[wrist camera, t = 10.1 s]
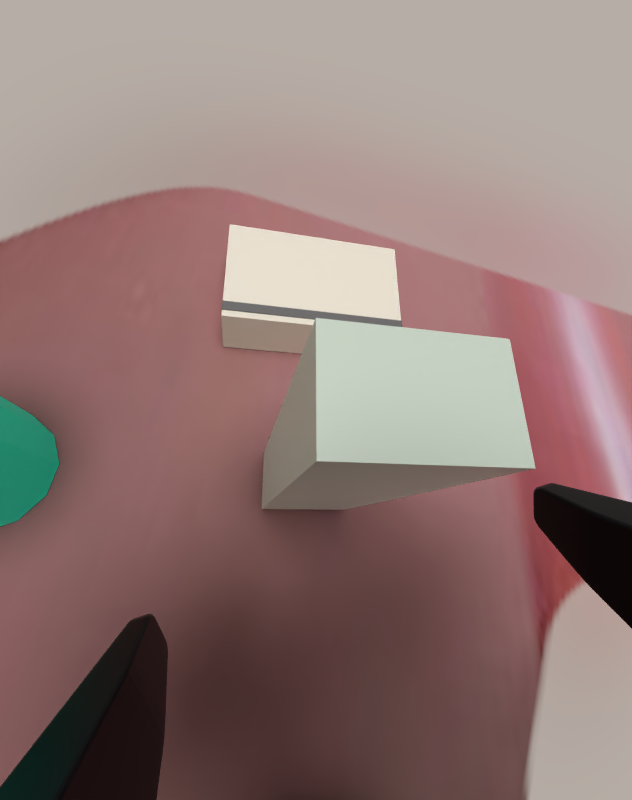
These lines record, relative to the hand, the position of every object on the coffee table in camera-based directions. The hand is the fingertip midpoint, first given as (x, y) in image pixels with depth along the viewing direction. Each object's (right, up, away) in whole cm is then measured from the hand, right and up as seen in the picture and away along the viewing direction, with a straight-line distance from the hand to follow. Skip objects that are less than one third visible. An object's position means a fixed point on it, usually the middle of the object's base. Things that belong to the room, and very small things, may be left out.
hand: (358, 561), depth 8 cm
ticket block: (-2, +9, +16) cm, 19 cm away
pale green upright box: (-2, -1, +13) cm, 13 cm away
